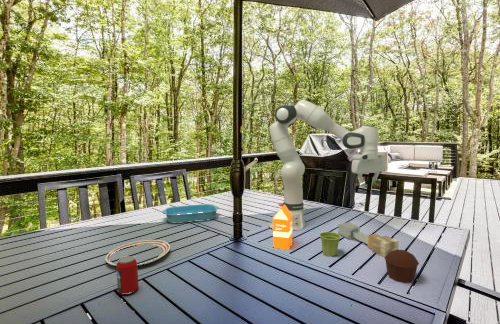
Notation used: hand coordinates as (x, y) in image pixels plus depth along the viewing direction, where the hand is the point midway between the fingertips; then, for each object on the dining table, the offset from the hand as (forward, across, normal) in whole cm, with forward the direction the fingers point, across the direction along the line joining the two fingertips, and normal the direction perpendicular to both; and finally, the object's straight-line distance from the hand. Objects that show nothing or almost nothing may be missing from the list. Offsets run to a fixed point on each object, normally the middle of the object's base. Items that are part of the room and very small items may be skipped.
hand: (368, 180), depth 151 cm
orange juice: (+29, +51, -3) cm, 59 cm away
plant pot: (+29, +36, +14) cm, 48 cm away
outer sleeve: (+29, +13, 0) cm, 32 cm away
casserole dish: (+30, +84, -68) cm, 112 cm away
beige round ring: (+30, +117, -19) cm, 122 cm away
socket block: (+29, +13, +24) cm, 39 cm away
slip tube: (+29, +13, +13) cm, 34 cm away
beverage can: (+30, +121, +10) cm, 125 cm away
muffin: (+29, +25, +42) cm, 57 cm away
